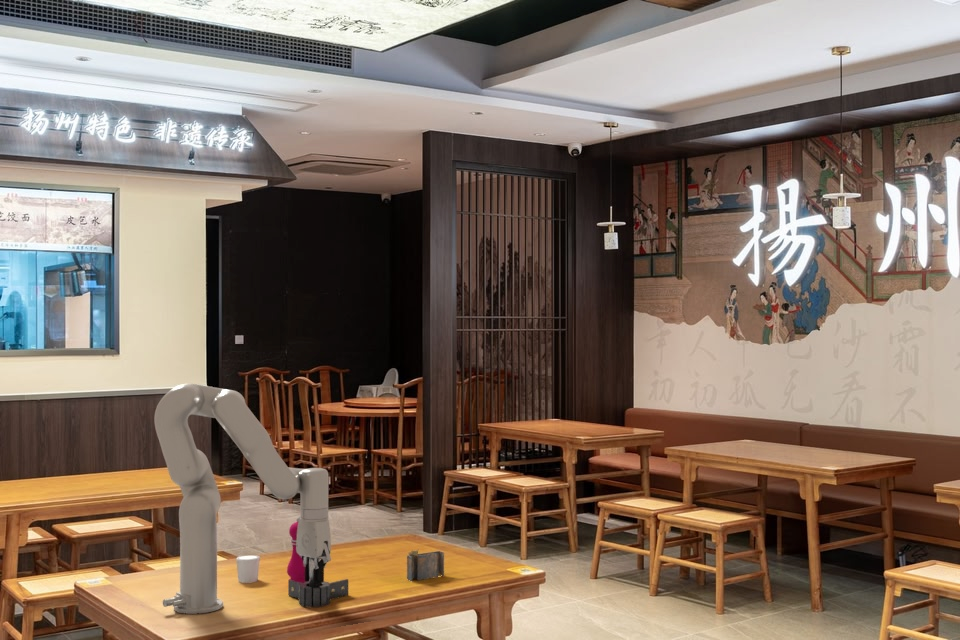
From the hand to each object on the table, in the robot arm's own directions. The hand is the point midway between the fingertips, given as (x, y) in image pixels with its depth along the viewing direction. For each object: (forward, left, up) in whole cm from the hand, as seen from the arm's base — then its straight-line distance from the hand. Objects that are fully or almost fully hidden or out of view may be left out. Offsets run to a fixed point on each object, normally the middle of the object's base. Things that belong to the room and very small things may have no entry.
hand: (314, 581), depth 264 cm
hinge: (+4, +4, -6) cm, 8 cm away
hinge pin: (0, 0, -2) cm, 2 cm away
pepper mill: (+9, +19, -6) cm, 22 cm away
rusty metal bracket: (+40, -2, -7) cm, 41 cm away
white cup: (+2, +35, -6) cm, 36 cm away
